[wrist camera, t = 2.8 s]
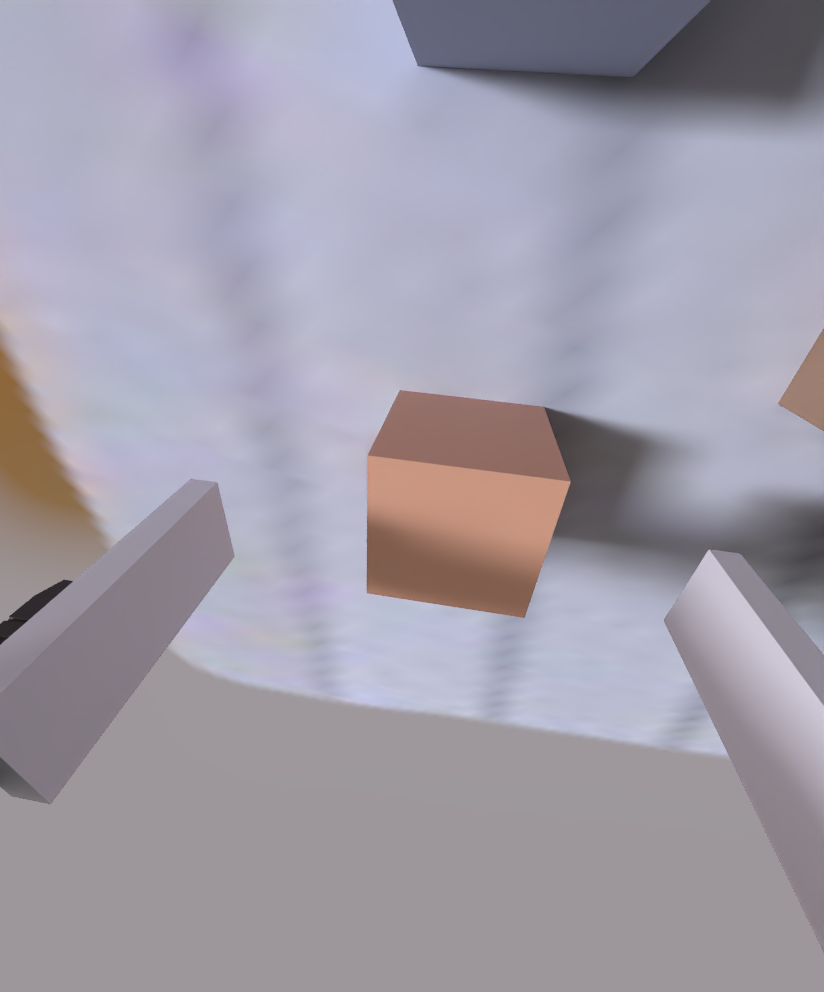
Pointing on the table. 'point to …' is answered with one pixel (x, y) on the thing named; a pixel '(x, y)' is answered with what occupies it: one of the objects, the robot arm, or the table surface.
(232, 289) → the table surface
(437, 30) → the slate rectangular block
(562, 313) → the table surface
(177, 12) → the table surface
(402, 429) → the terracotta cube
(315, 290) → the table surface
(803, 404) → the walnut cube
